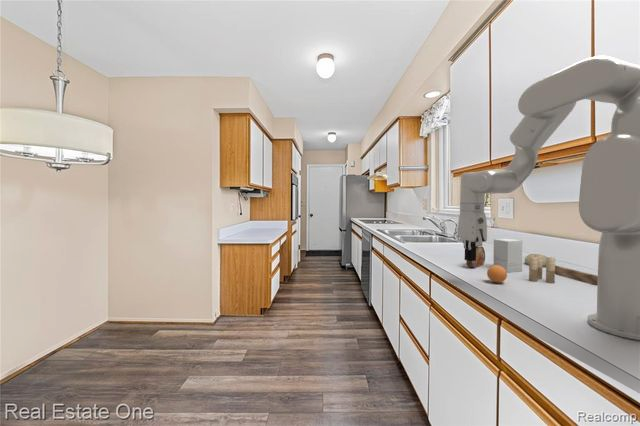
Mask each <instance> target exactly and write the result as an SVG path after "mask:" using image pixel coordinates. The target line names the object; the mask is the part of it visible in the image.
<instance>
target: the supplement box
mask: <svg viewBox="0 0 640 426" xmlns="http://www.w3.org/2000/svg"><path fill="white" fill-rule="evenodd" d="M494 265H498V266H501V267H503V268H504V269H505V270H506V272H507V273H516V272H518V273H519V272H523V240H520V239H513V238H495V239H493V266H494Z"/></svg>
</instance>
